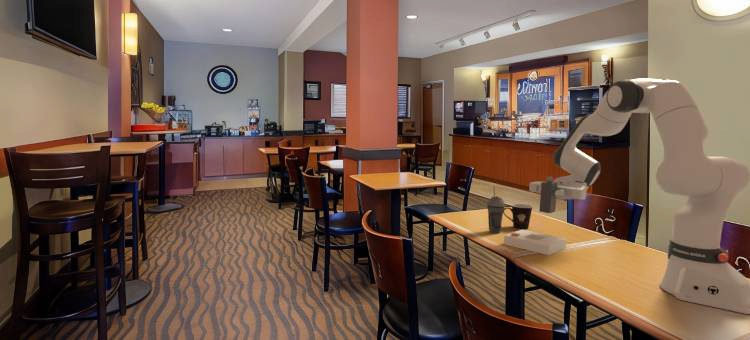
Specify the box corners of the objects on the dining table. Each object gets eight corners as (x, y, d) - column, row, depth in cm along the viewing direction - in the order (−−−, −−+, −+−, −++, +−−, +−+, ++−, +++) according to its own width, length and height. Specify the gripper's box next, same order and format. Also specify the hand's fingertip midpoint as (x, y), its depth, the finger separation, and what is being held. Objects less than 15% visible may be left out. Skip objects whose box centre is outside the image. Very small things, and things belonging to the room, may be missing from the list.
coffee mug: (534, 227, 194) (535, 206, 193) (525, 231, 188) (527, 208, 187) (509, 223, 202) (511, 202, 201) (501, 226, 196) (502, 204, 195)
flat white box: (565, 247, 165) (566, 236, 164) (548, 255, 155) (549, 243, 155) (521, 237, 178) (522, 227, 177) (503, 244, 168) (504, 233, 168)
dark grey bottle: (555, 211, 162) (557, 177, 161) (549, 213, 159) (552, 178, 157) (544, 209, 165) (547, 176, 163) (539, 211, 162) (541, 177, 160)
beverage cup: (504, 234, 182) (506, 188, 179) (486, 233, 183) (488, 187, 181) (502, 230, 189) (505, 185, 186) (485, 229, 190) (487, 184, 188)
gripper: (539, 176, 177) (522, 180, 168) (591, 183, 162) (575, 187, 153) (538, 191, 178) (521, 196, 169) (589, 200, 163) (574, 205, 154)
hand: (547, 192), depth 161 cm, fingers closed on dark grey bottle, 4 cm apart
